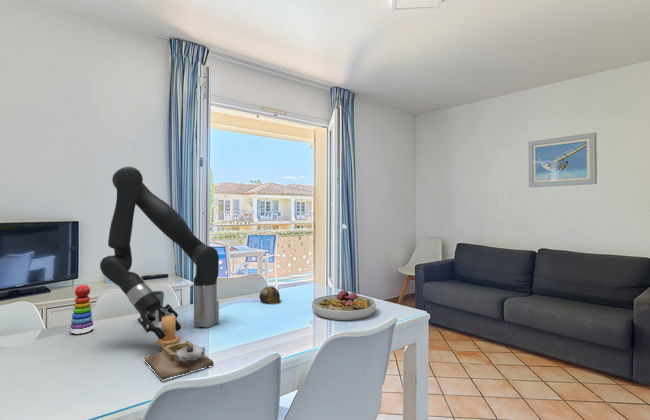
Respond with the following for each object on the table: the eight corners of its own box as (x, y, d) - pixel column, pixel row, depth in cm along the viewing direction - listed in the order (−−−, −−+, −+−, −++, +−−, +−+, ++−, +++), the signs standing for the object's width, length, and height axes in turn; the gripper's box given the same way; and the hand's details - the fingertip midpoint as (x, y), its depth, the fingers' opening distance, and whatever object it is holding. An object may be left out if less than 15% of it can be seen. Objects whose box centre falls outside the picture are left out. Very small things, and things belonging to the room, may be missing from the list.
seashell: (255, 302, 185) (255, 287, 185) (268, 298, 192) (268, 284, 192) (270, 305, 178) (270, 290, 178) (283, 302, 185) (283, 286, 185)
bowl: (379, 322, 151) (379, 304, 151) (309, 322, 152) (309, 304, 152) (371, 304, 181) (371, 288, 181) (313, 304, 182) (313, 288, 182)
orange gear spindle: (176, 342, 129) (175, 312, 129) (183, 348, 123) (183, 317, 123) (154, 348, 124) (153, 316, 124) (160, 354, 118) (160, 321, 118)
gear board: (191, 349, 123) (191, 331, 123) (213, 366, 109) (213, 346, 109) (144, 361, 113) (144, 342, 113) (162, 382, 99) (162, 360, 99)
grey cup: (145, 325, 148) (145, 297, 148) (134, 321, 154) (134, 293, 154) (168, 319, 156) (168, 292, 156) (157, 315, 162) (156, 289, 162)
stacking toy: (65, 336, 136) (65, 287, 136) (74, 329, 143) (74, 283, 143) (89, 334, 138) (89, 286, 138) (96, 327, 146) (96, 282, 146)
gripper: (134, 296, 118) (164, 333, 116) (163, 287, 132) (190, 320, 129) (121, 311, 119) (150, 348, 117) (151, 300, 133) (178, 333, 131)
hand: (171, 333), depth 123 cm, fingers open, 8 cm apart
